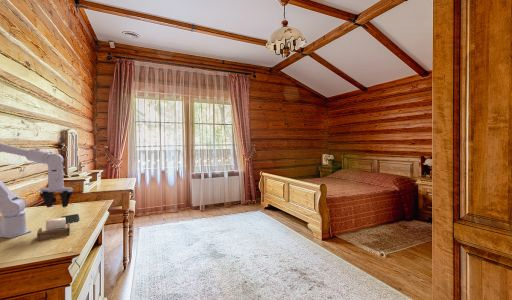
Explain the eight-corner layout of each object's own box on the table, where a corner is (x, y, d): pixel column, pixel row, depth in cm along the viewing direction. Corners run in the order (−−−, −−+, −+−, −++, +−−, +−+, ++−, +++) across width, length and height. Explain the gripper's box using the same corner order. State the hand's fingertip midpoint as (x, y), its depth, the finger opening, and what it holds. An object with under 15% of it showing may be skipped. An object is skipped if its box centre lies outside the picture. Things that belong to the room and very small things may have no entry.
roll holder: (39, 235, 107) (39, 228, 107) (69, 230, 114) (69, 222, 113) (37, 241, 101) (37, 232, 101) (69, 234, 108) (68, 227, 108)
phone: (60, 223, 122) (60, 216, 134) (60, 225, 122) (61, 218, 134) (79, 219, 127) (78, 213, 139) (79, 222, 127) (78, 215, 139)
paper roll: (46, 232, 112) (45, 221, 111) (47, 229, 116) (46, 219, 115) (65, 229, 116) (65, 218, 116) (66, 226, 120) (65, 216, 120)
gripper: (33, 180, 113) (34, 209, 113) (64, 179, 112) (65, 208, 113) (46, 178, 120) (48, 205, 120) (75, 177, 119) (76, 204, 120)
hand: (57, 206), depth 117 cm, fingers open, 7 cm apart
